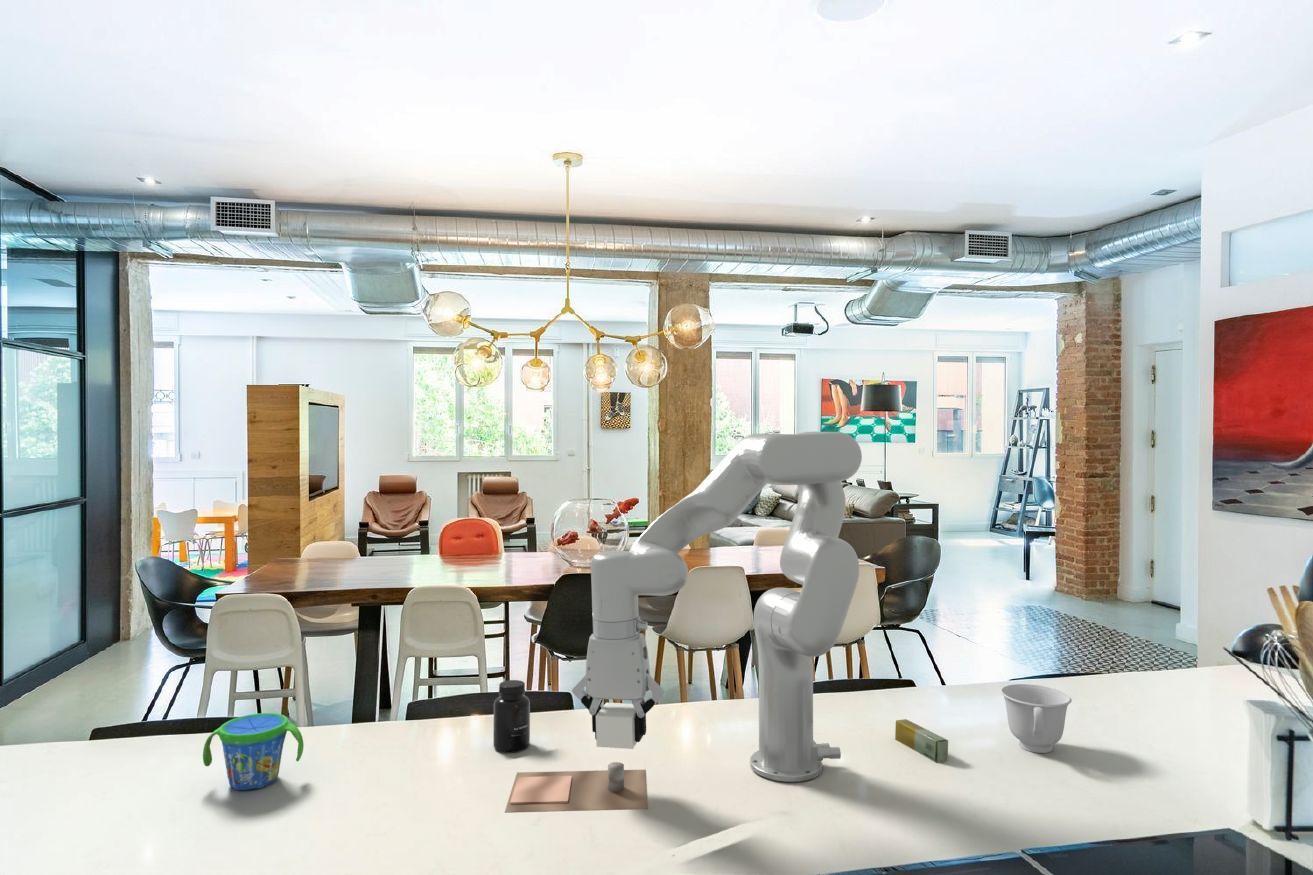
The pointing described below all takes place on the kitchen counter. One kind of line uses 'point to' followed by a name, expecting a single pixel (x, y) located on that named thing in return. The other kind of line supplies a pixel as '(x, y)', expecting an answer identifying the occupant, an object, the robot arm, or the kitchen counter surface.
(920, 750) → the medication box
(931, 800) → the kitchen counter surface
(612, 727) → the matte white cube
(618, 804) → the post board
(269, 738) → the snack cup
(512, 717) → the supplement bottle
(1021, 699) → the teacup
